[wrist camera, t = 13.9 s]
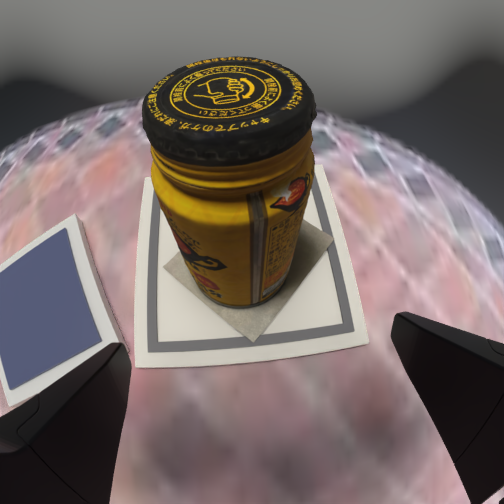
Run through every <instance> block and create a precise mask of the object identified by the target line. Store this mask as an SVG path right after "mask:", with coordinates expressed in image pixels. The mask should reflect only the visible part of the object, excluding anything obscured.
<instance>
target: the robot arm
mask: <svg viewBox="0 0 504 504" xmlns="http://www.w3.org/2000/svg"><path fill="white" fill-rule="evenodd" d="M391 339H392V342H393V344H394V346H395V348H396V351H397V353H398V355H399V357H400V360H401V362H402V364H403V366H404V369H405V371H406V373H407V375H408V376H409V378H410V380H411V382H412V384H413V385H414V387H415V389H416V391H417V393H418V394H419V396H420V398H421V400H422V402H423V403H424V405H425V407H426V409H427V411H428V413H429V415H430V417H431V418H432V420H433V422H434V424H435V426H436V428H437V430H438V432H439V434H440V436H441V438H442V440H443V442H444V444H445V446H446V448H447V450H448V452H449V454H450V456H451V459H452V461H453V463H455V464H454V465H455V468H456V470H457V472H458V474H459V476H460V479H461V481H462V483H463V485H464V488H465V490H466V493H467V495H468V497H469V500H470V502H471V504H482V503H483V502H485V501H486V500H487V499H489V498H490V497H491V496H492V495H494V494H495V493H496V492H497V491H499V490H500V489H501V488H502V487H503V486H504V344H503V343H500V342H496V341H493V340H490V339H486V338H484V337H481V336H478V335H475V334H472V333H469V332H466V331H463V330H460V329H457V328H454V327H451V326H448V325H445V324H442V323H439V322H436V321H433V320H430V319H427V318H424V317H421V316H418V315H415V314H412V313H409V312H401V313H397V314H396V315H395V317H394V321H393V326H392V331H391ZM131 370H132V366H131V361H130V358H129V355H128V353H127V350H126V347H125V345H124V344H123V343H122V342H112V343H110V344H108V345H107V346H106V347H104V348H103V349H101V350H100V351H98V352H97V353H95V354H94V355H93V356H91V357H90V358H88V359H87V360H85V361H84V362H82V363H81V364H80V365H78V366H77V367H75V368H74V369H72V370H71V371H69V372H68V373H67V374H65V375H64V376H62V377H61V378H59V379H58V380H56V381H55V382H54V383H52V384H51V385H49V386H48V387H46V388H45V389H44V390H42V391H41V392H40V393H38V394H36V395H35V396H33V397H32V398H31V399H29V400H28V401H26V402H25V403H23V404H22V405H20V406H18V407H17V408H15V409H13V410H12V411H10V412H8V413H7V414H5V415H3V416H1V417H0V504H109V502H110V495H111V488H112V481H113V475H114V469H115V463H116V458H117V453H118V447H119V442H120V437H121V432H122V428H123V423H124V419H125V414H126V409H127V403H128V394H129V385H130V377H131ZM499 504H504V497H503V498H502V499H501V500H500V501H499Z"/></svg>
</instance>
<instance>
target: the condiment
mask: <svg viewBox="0 0 504 504" xmlns="http://www.w3.org/2000/svg"><path fill="white" fill-rule="evenodd" d="M315 108H316V103H315V101H314V95H313V93H312V91H311V89H310V88H309V87H308V85H307V84H306V82H305V81H304V80H303V79H302V78H301V77H300V76H299V75H298V74H296V73H295V72H293V71H292V70H290V69H289V68H286V67H284V66H282V65H281V64H277V63H274V62H271V61H268V60H261V59H257V58H251V57H228V58H215V59H208V60H202V61H199V62H195V63H192V64H189V65H186V66H184V67H182V68H179V69H177V70H175V71H174V72H172V73H170V74H168V75H167V76H166V77H165V78H163V79H162V80H160V81H159V82H158V83H157V84H156V85H155V86H154V87H153V89H152V90H151V91H150V92H149V93H148V94H147V95H146V96H145V98H144V101H143V106H142V118H143V128H144V130H145V132H146V134H147V137H148V139H149V141H150V143H151V154H152V158H153V162H152V167H151V181H152V184H153V187H154V191H155V193H156V196H157V198H158V201H159V205H160V207H161V210H162V211H163V213H164V215H165V217H166V220H167V222H168V224H169V226H170V228H171V231H172V233H173V236H174V238H175V240H176V242H177V245H178V248H179V250H180V251H179V252H178V253H177V254H176V255H175V256H174V257H173V258H172V259H171V260H170V261H169V262H168V263H167V264H165V265H164V266H163V268H164V269H165V270H167V271H168V272H169V273H170V274H171V275H172V276H173V277H175V279H177V280H178V281H179V282H180V283H181V284H182V285H183V286H185V287H186V288H187V289H188V290H189V291H190V292H192V293H193V294H194V295H195V296H196V297H197V298H198V299H200V300H201V301H202V302H203V303H205V304H206V305H207V306H208V307H209V308H211V309H212V310H213V311H214V312H215V313H217V314H218V315H219V316H220V317H222V318H223V319H224V320H225V321H227V322H228V323H229V324H230V325H232V326H233V327H234V328H236V329H237V330H238V331H239V332H241V333H242V334H243V335H244V336H246V337H247V338H248V339H249V340H251V341H252V342H253V343H254V342H255V340H256V339H257V338H258V337H259V336H260V334H261V333H262V332H263V331H264V330H265V328H266V327H267V326H268V325H269V323H270V322H271V321H272V320H273V319H274V317H275V316H276V315H277V313H278V312H279V311H280V310H281V309H282V307H283V306H284V305H285V304H286V302H287V301H288V300H289V298H290V297H291V296H292V295H293V293H294V292H295V291H296V289H297V288H298V287H299V286H300V284H301V283H302V281H303V280H304V279H305V277H306V276H307V275H308V273H309V272H310V271H311V270H312V268H313V267H314V266H315V264H316V263H317V262H318V261H319V259H320V258H321V256H322V255H323V254H324V252H325V251H326V249H327V248H328V247H329V245H330V244H331V243H332V241H333V240H334V238H333V237H332V236H330V235H328V234H327V233H325V232H323V231H321V230H320V229H318V228H317V227H315V226H313V225H312V224H310V223H309V222H307V221H306V220H304V219H303V217H304V213H305V209H306V206H307V203H308V198H309V195H310V191H311V188H312V184H313V179H314V171H315V169H314V168H315V161H314V154H313V152H312V149H311V148H310V146H311V144H312V141H313V137H312V131H311V125H312V122H313V120H314V119H315V118H316V116H317V112H316V111H315Z"/></svg>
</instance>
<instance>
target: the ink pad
mask: <svg viewBox="0 0 504 504" xmlns="http://www.w3.org/2000/svg"><path fill="white" fill-rule="evenodd" d="M112 342H122V343H123V344H124V345H125V347H126V350H127V353H128V352H130V351H129V349H128V347H127V345H126V343H125V341H124V338H123V336H122V334H121V332H120V329H119V327H118V325H117V322H116V320H115V318H114V315H113V313H112V310H111V308H110V305H109V303H108V300H107V298H106V295H105V292H104V290H103V287H102V284H101V281H100V279H99V276H98V273H97V270H96V267H95V264H94V261H93V258H92V255H91V252H90V249H89V245H88V242H87V239H86V235H85V232H84V228H83V225H82V221H81V220H80V219H79V218H78V216H77V215H76V214H73V215H72V216H70V217H69V218H67V219H65V220H64V221H62V222H61V223H59V224H57V225H56V226H54V227H53V228H51V229H50V230H48V231H47V232H45V233H44V234H42V235H41V236H39V237H38V238H36V239H35V240H34V241H32V242H31V243H29V244H28V245H26V246H25V247H24V248H22V249H21V250H19V251H18V252H17V253H15V254H14V255H13V256H11V257H10V258H9V259H7V260H6V261H5V262H3V263H2V264H1V265H0V379H1V383H2V386H3V389H4V392H5V395H6V399H7V402H8V404H9V407H18V406H20V405H22V404H23V403H25V402H26V401H28V400H29V399H31V398H32V397H33V396H35V395H36V394H38V393H40V392H41V391H42V390H44V389H45V388H46V387H48V386H49V385H51V384H52V383H54V382H55V381H56V380H58V379H59V378H61V377H62V376H64V375H65V374H67V373H68V372H69V371H71V370H72V369H74V368H75V367H77V366H78V365H80V364H81V363H82V362H84V361H85V360H87V359H88V358H90V357H91V356H93V355H94V354H95V353H97V352H98V351H100V350H101V349H103V348H104V347H106V346H107V345H108V344H110V343H112Z"/></svg>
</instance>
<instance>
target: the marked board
mask: <svg viewBox="0 0 504 504" xmlns="http://www.w3.org/2000/svg"><path fill="white" fill-rule="evenodd" d="M314 169H315V171H314V179H313V184H312V188H311V191H310V195H309V198H308V203H307V206H306V209H305V213H304V217H303V219H304V220H306V221H307V222H309V223H310V224H312V225H313V226H315V227H317V228H318V229H320V230H321V231H323V232H325V233H327V234H328V235H330V236H332V237H333V238H334V240H333V241H332V243H331V244H330V245H329V247H328V248H327V249H326V251H325V252H324V254H323V255H322V256H321V258H320V259H319V261H318V262H317V263H316V264H315V266H314V267H313V268H312V270H311V271H310V272H309V273H308V275H307V276H306V277H305V279H304V280H303V281H302V283H301V284H300V286H299V287H298V288H297V289H296V291H295V292H294V293H293V295H292V296H291V297H290V298H289V300H288V301H287V302H286V304H285V305H284V306H283V307H282V309H281V310H280V311H279V312H278V313H277V315H276V316H275V317H274V319H273V320H272V321H271V322H270V323H269V325H268V326H267V327H266V328H265V330H264V331H263V332H262V333H261V334H260V336H259V337H258V338H257V339H256V340H255V342H254V343H253V342H252V341H251V340H249V339H248V338H247V337H246V336H244V335H243V334H242V333H241V332H239V331H238V330H237V329H236V328H234V327H233V326H232V325H230V324H229V323H228V322H227V321H225V320H224V319H223V318H222V317H220V316H219V315H218V314H217V313H215V312H214V311H213V310H212V309H211V308H209V307H208V306H207V305H206V304H205V303H203V302H202V301H201V300H200V299H198V298H197V297H196V296H195V295H194V294H193V293H192V292H190V291H189V290H188V289H187V288H186V287H185V286H183V285H182V284H181V283H180V282H179V281H178V280H177V279H175V277H173V276H172V275H171V274H170V273H169V272H168V271H167V270H165V269H164V268H163V266H164V265H165V264H167V263H168V262H169V261H170V260H171V259H172V258H173V257H174V256H175V255H176V254H177V253H178V252H179V251H180V250H179V248H178V245H177V242H176V240H175V238H174V236H173V233H172V231H171V228H170V226H169V224H168V222H167V220H166V217H165V215H164V213H163V211H162V210H161V207H160V205H159V201H158V198H157V196H156V193H155V191H154V187H153V184H152V181H151V177H145V182H144V190H143V197H142V205H141V214H140V223H139V234H138V245H137V259H136V277H135V307H134V342H135V367H136V368H180V367H203V366H219V365H232V364H243V363H253V362H262V361H271V360H279V359H286V358H293V357H300V356H307V355H313V354H319V353H325V352H331V351H336V350H341V349H347V348H352V347H356V346H361V345H366V344H368V343H369V340H368V334H367V329H366V324H365V319H364V314H363V310H362V305H361V300H360V296H359V292H358V287H357V283H356V279H355V275H354V271H353V267H352V263H351V259H350V255H349V251H348V248H347V244H346V240H345V237H344V233H343V230H342V226H341V223H340V219H339V216H338V213H337V209H336V206H335V203H334V200H333V196H332V193H331V190H330V187H329V184H328V181H327V178H326V175H325V172H324V169H323V166H322V165H315V168H314Z"/></svg>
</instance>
